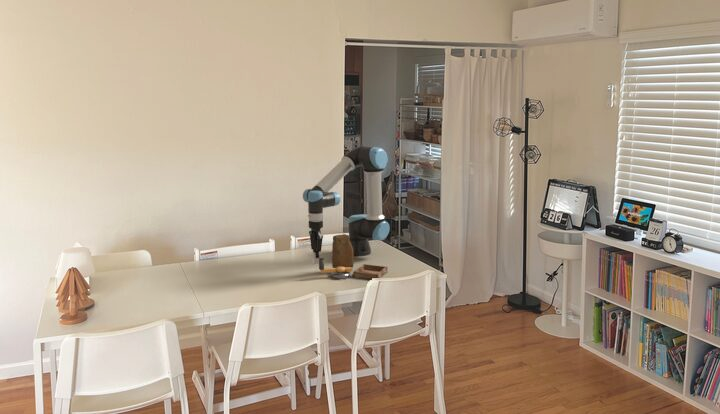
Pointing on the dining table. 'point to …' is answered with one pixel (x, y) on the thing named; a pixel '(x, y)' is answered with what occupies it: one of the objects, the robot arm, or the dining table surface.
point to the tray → (370, 271)
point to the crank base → (340, 275)
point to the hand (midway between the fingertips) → (316, 263)
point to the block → (342, 251)
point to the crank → (337, 269)
